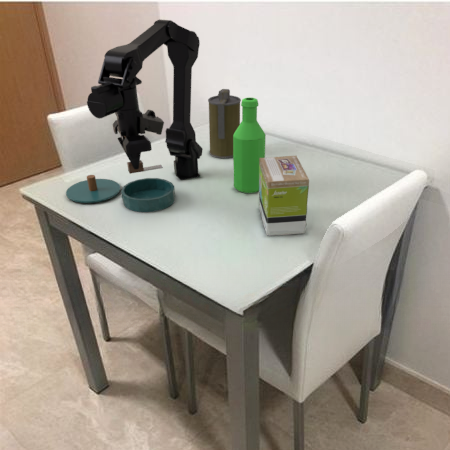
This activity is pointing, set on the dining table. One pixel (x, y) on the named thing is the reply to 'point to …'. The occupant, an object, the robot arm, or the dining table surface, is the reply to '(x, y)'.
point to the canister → (223, 123)
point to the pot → (148, 194)
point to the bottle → (248, 148)
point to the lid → (93, 190)
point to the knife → (141, 167)
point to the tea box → (283, 195)
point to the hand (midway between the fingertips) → (135, 167)
